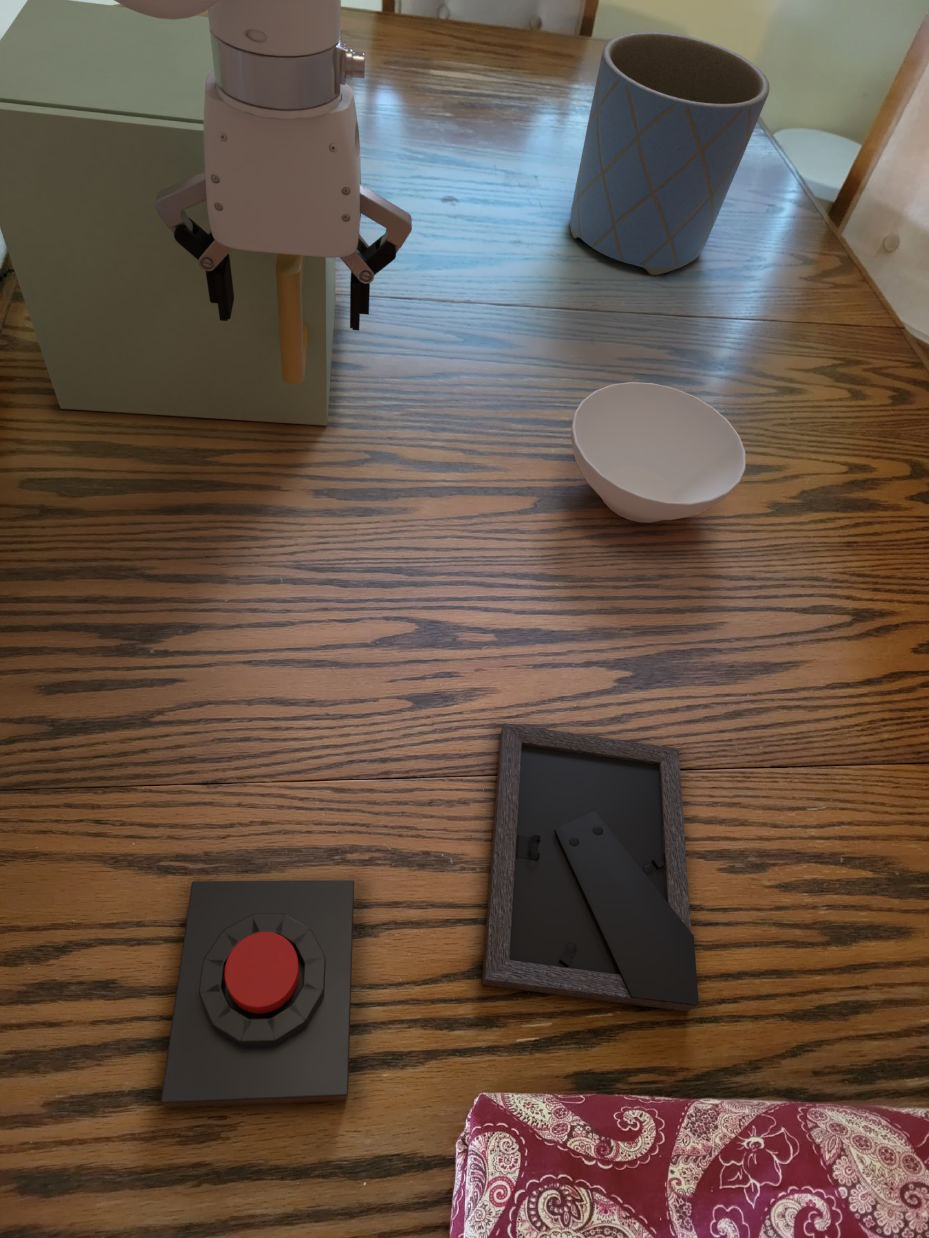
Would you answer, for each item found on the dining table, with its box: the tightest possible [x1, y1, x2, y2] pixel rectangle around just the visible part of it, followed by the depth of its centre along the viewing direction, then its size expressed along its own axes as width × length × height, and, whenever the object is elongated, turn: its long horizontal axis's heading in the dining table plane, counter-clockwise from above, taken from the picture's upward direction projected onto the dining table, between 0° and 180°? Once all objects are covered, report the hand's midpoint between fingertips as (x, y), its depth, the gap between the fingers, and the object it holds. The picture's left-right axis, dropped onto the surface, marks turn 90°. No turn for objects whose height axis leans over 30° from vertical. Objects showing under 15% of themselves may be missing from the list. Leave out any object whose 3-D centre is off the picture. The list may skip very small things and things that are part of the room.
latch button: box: [225, 932, 299, 1014], centre depth 47 cm, size 4×4×2 cm
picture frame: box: [481, 723, 700, 1013], centre depth 57 cm, size 13×2×18 cm
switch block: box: [160, 879, 355, 1109], centre depth 49 cm, size 12×10×4 cm
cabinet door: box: [0, 102, 329, 426], centre depth 67 cm, size 7×24×26 cm, turn 93°
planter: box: [569, 31, 771, 276], centre depth 101 cm, size 19×19×20 cm
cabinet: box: [0, 0, 337, 409], centre depth 74 cm, size 18×24×26 cm
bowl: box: [570, 381, 746, 524], centre depth 78 cm, size 16×16×7 cm
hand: (291, 315), depth 64 cm, fingers open, 9 cm apart
